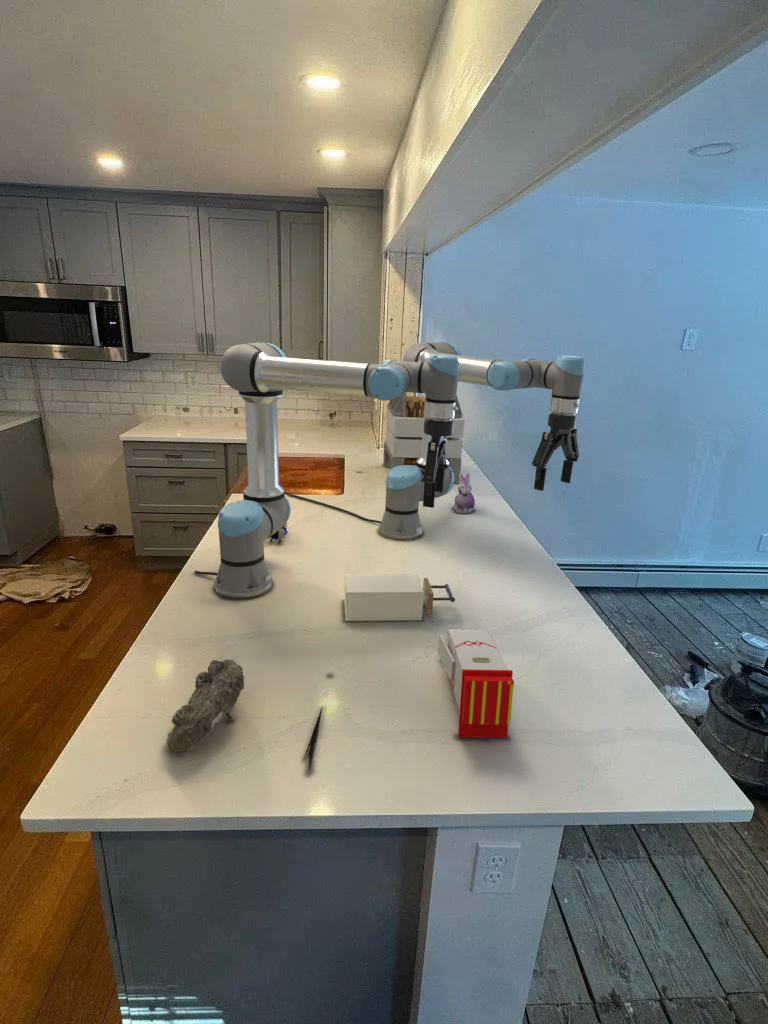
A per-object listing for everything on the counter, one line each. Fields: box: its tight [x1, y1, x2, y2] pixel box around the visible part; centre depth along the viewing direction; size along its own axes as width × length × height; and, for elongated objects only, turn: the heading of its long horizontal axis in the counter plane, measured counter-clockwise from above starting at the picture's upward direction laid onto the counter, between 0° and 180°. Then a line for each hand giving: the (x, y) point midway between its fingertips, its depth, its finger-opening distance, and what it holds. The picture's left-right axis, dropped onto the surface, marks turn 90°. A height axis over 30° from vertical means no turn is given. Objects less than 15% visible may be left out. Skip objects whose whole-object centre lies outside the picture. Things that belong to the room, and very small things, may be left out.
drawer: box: [422, 577, 456, 617], centre depth 148 cm, size 24×9×6 cm, turn 95°
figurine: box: [453, 472, 476, 514], centre depth 224 cm, size 9×10×15 cm
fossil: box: [166, 658, 245, 754], centre depth 106 cm, size 22×10×15 cm
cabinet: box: [343, 573, 424, 622], centre depth 148 cm, size 20×10×8 cm, turn 95°
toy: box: [437, 628, 515, 738], centre depth 117 cm, size 12×13×30 cm
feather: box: [301, 673, 332, 771], centre depth 108 cm, size 2×28×2 cm
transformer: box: [383, 392, 465, 484], centre depth 268 cm, size 34×33×41 cm
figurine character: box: [267, 521, 289, 544], centre depth 191 cm, size 7×8×15 cm
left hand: (433, 498), depth 149 cm, fingers open, 13 cm apart
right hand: (552, 485), depth 166 cm, fingers open, 13 cm apart
